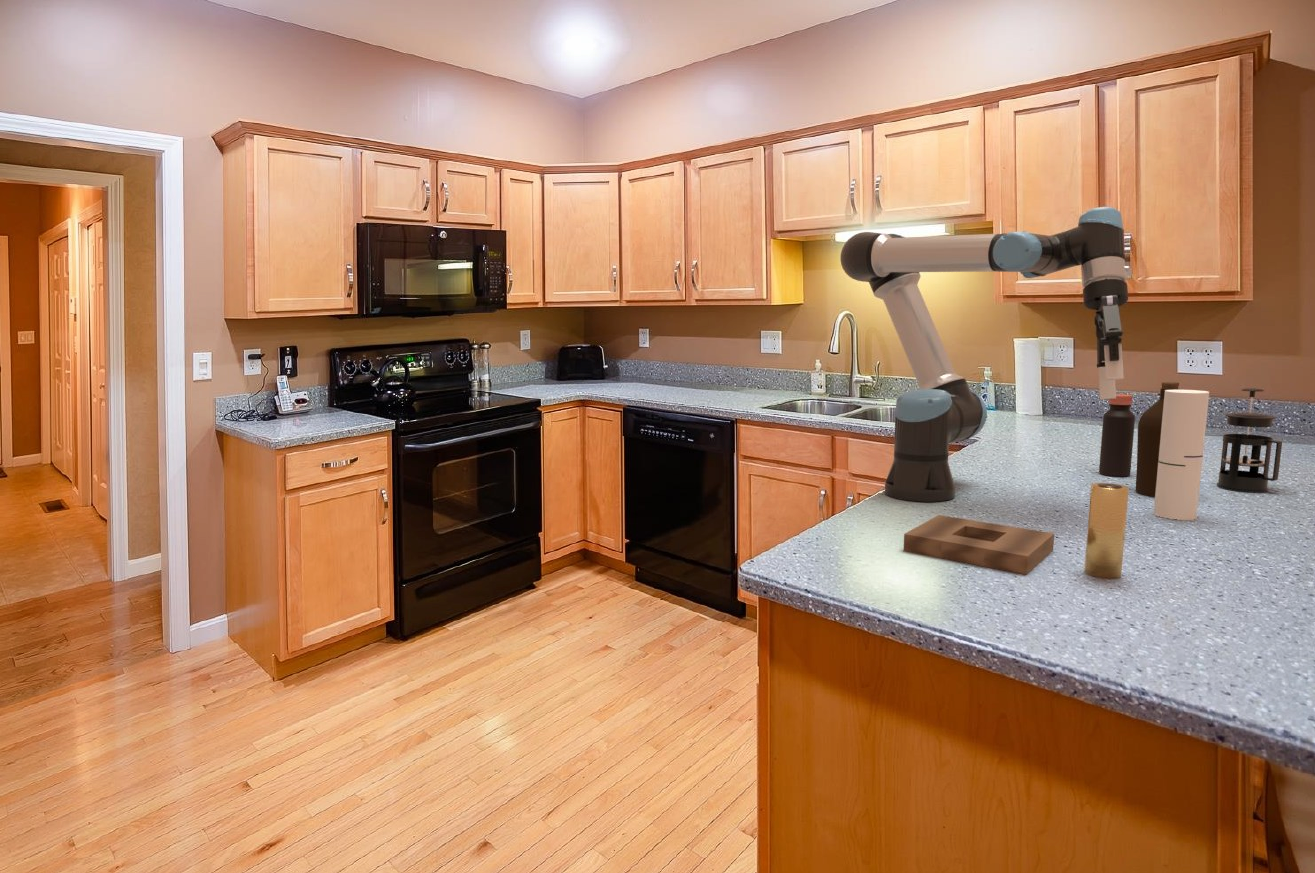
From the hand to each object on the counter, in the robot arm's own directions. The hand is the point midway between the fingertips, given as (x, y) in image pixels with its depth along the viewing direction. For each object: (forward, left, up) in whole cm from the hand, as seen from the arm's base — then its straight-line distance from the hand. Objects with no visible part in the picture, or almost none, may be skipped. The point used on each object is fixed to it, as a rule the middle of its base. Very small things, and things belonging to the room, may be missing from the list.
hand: (1111, 389), depth 144 cm
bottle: (-7, +51, -26) cm, 58 cm away
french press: (+19, +51, -26) cm, 60 cm away
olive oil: (+5, +34, -26) cm, 43 cm away
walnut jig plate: (-13, -33, -26) cm, 44 cm away
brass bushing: (+6, -33, -26) cm, 43 cm away
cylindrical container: (+10, +14, -26) cm, 31 cm away
